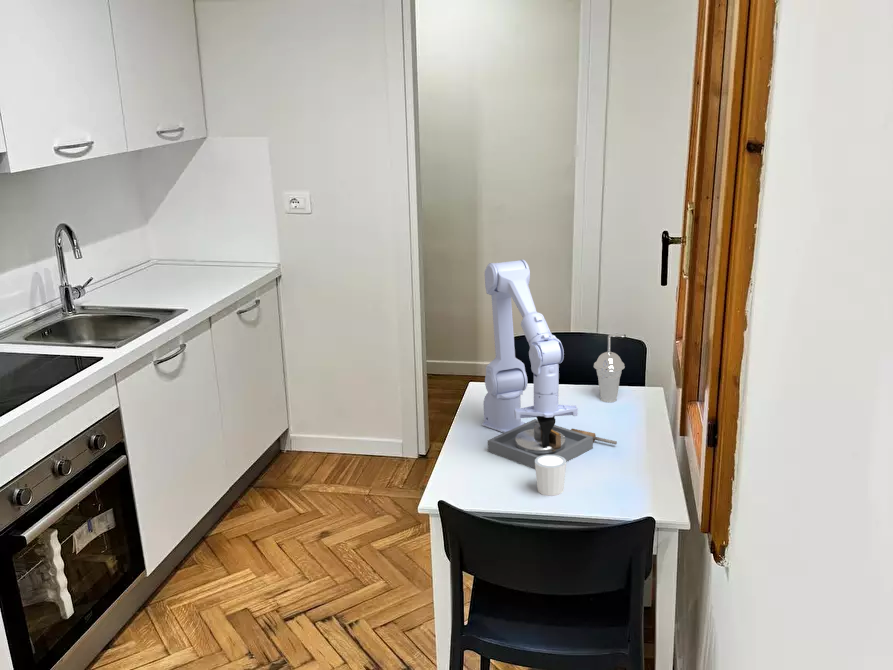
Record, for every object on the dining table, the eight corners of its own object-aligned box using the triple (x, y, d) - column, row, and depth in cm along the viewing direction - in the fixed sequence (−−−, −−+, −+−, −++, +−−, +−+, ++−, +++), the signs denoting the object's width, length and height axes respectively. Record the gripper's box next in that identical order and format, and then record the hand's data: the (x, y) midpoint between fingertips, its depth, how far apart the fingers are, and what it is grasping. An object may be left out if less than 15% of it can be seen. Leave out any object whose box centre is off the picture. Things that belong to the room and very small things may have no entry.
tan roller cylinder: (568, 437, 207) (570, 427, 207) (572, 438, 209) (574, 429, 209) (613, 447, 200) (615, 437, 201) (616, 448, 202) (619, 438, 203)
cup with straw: (615, 392, 238) (616, 325, 232) (630, 403, 230) (632, 333, 224) (588, 396, 236) (588, 328, 230) (602, 407, 227) (603, 337, 222)
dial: (506, 441, 204) (505, 421, 202) (546, 431, 209) (546, 411, 208) (537, 460, 192) (536, 439, 191) (579, 449, 198) (579, 428, 196)
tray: (487, 451, 202) (487, 440, 201) (535, 429, 214) (535, 418, 213) (546, 472, 189) (546, 460, 189) (592, 448, 202) (592, 436, 201)
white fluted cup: (546, 500, 177) (546, 470, 175) (528, 487, 183) (528, 458, 181) (572, 492, 180) (572, 462, 178) (554, 480, 186) (554, 451, 184)
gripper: (517, 398, 188) (518, 453, 191) (581, 395, 188) (580, 450, 192) (512, 388, 194) (513, 441, 198) (574, 384, 195) (573, 438, 199)
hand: (545, 445), depth 196 cm, fingers closed, pressing on dial
